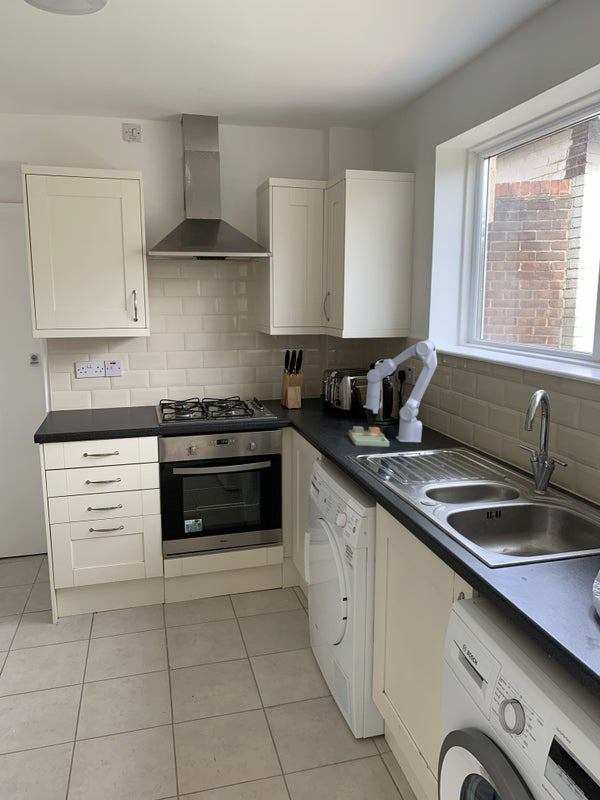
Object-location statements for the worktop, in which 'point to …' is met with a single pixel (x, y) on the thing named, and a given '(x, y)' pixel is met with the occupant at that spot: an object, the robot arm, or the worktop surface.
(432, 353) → the robot arm
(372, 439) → the tray
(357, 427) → the grey tile
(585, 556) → the worktop surface
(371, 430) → the terracotta tile
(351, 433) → the board
